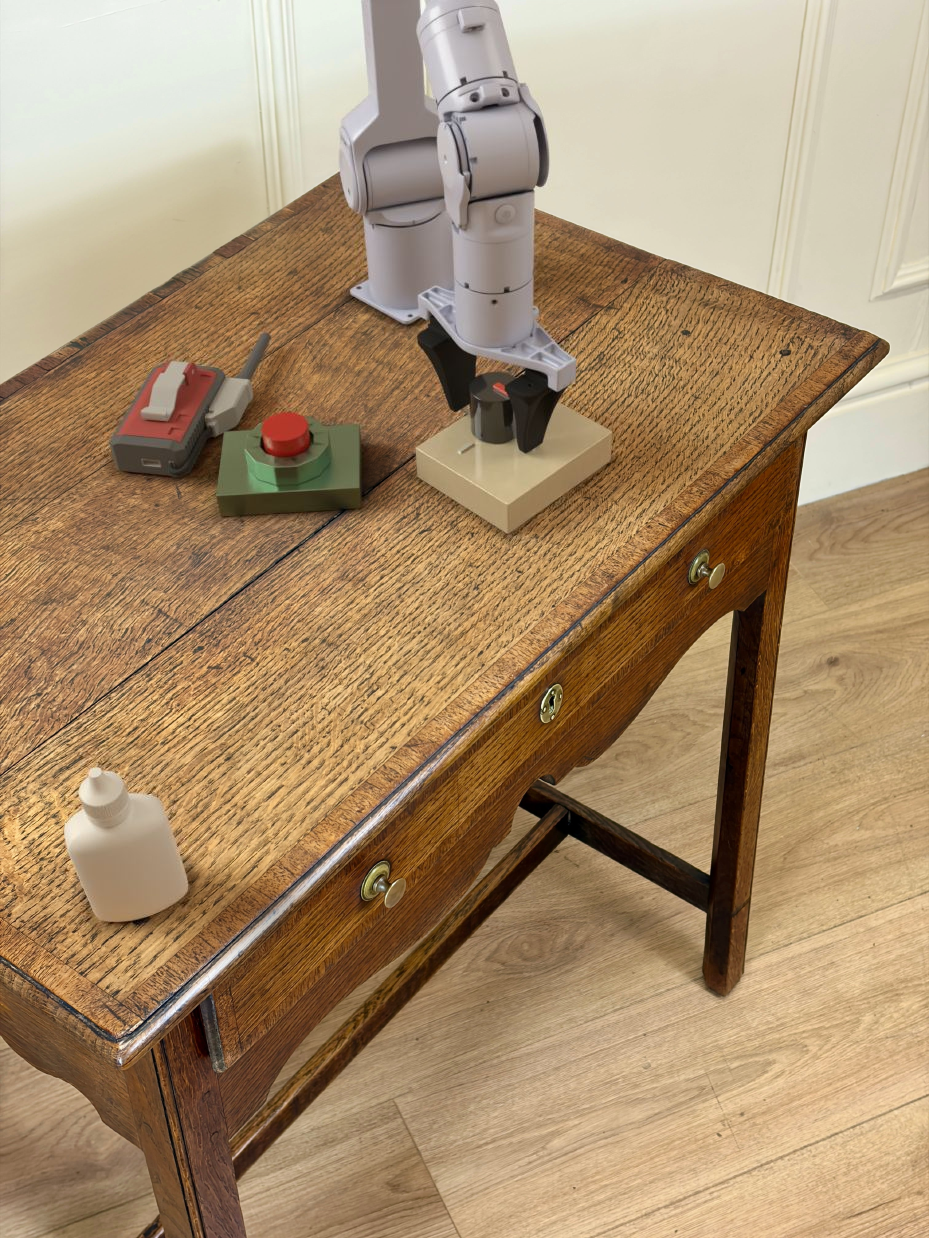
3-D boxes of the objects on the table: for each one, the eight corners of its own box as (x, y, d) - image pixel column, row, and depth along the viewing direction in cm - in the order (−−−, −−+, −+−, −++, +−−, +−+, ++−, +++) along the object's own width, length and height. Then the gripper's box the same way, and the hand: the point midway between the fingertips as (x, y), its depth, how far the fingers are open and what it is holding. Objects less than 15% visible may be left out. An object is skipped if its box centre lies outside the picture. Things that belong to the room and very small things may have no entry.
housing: (361, 444, 107) (357, 405, 104) (362, 508, 101) (357, 469, 98) (227, 452, 107) (219, 413, 104) (220, 517, 101) (212, 477, 98)
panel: (510, 404, 110) (510, 373, 108) (610, 461, 104) (613, 429, 102) (407, 471, 104) (405, 439, 102) (507, 534, 99) (507, 503, 96)
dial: (460, 428, 103) (458, 384, 100) (495, 406, 105) (494, 361, 102) (496, 450, 101) (495, 405, 98) (531, 427, 103) (532, 382, 100)
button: (311, 428, 103) (308, 410, 101) (310, 457, 100) (307, 439, 99) (265, 431, 102) (262, 413, 101) (263, 460, 100) (260, 442, 99)
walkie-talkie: (209, 492, 103) (280, 348, 117) (199, 448, 100) (274, 306, 114) (105, 481, 104) (187, 340, 118) (92, 437, 101) (178, 298, 115)
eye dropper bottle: (109, 858, 79) (60, 734, 71) (198, 869, 79) (158, 745, 70) (83, 921, 76) (28, 799, 68) (175, 933, 76) (132, 811, 67)
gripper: (607, 287, 91) (598, 441, 101) (461, 217, 98) (466, 367, 108) (539, 329, 88) (536, 484, 98) (393, 253, 95) (404, 404, 105)
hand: (495, 425), depth 103 cm, fingers open, 7 cm apart
